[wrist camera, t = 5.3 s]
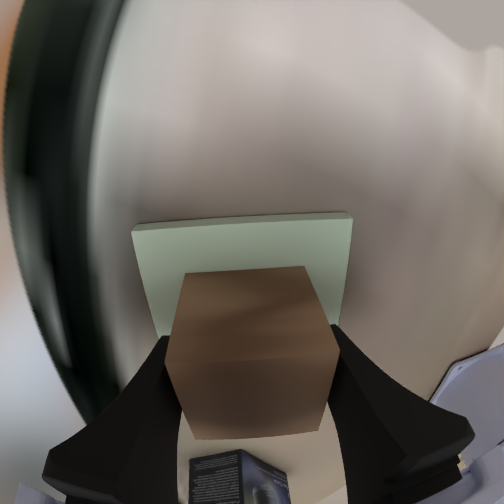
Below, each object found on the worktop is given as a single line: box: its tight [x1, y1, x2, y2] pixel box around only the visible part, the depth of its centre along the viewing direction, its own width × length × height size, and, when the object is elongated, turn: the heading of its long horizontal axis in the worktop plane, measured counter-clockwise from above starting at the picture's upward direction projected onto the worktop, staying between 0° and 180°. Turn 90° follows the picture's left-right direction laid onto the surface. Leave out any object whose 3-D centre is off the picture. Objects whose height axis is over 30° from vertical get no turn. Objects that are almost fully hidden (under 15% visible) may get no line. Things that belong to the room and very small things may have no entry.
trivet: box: [131, 212, 353, 339], centre depth 14 cm, size 9×9×1 cm
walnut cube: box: [164, 266, 340, 440], centre depth 11 cm, size 5×5×5 cm
